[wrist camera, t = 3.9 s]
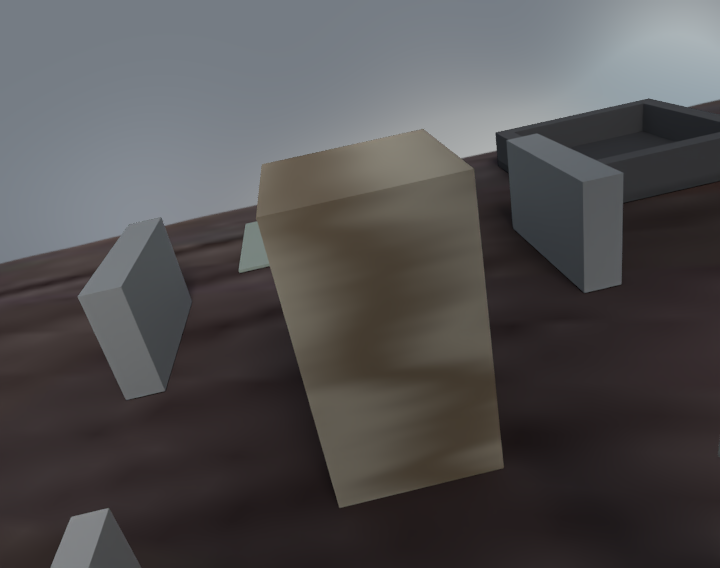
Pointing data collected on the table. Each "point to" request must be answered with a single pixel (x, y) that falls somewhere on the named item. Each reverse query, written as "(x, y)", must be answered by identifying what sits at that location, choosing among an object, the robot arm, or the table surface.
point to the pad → (252, 249)
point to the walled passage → (530, 219)
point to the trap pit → (638, 144)
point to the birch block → (386, 310)
